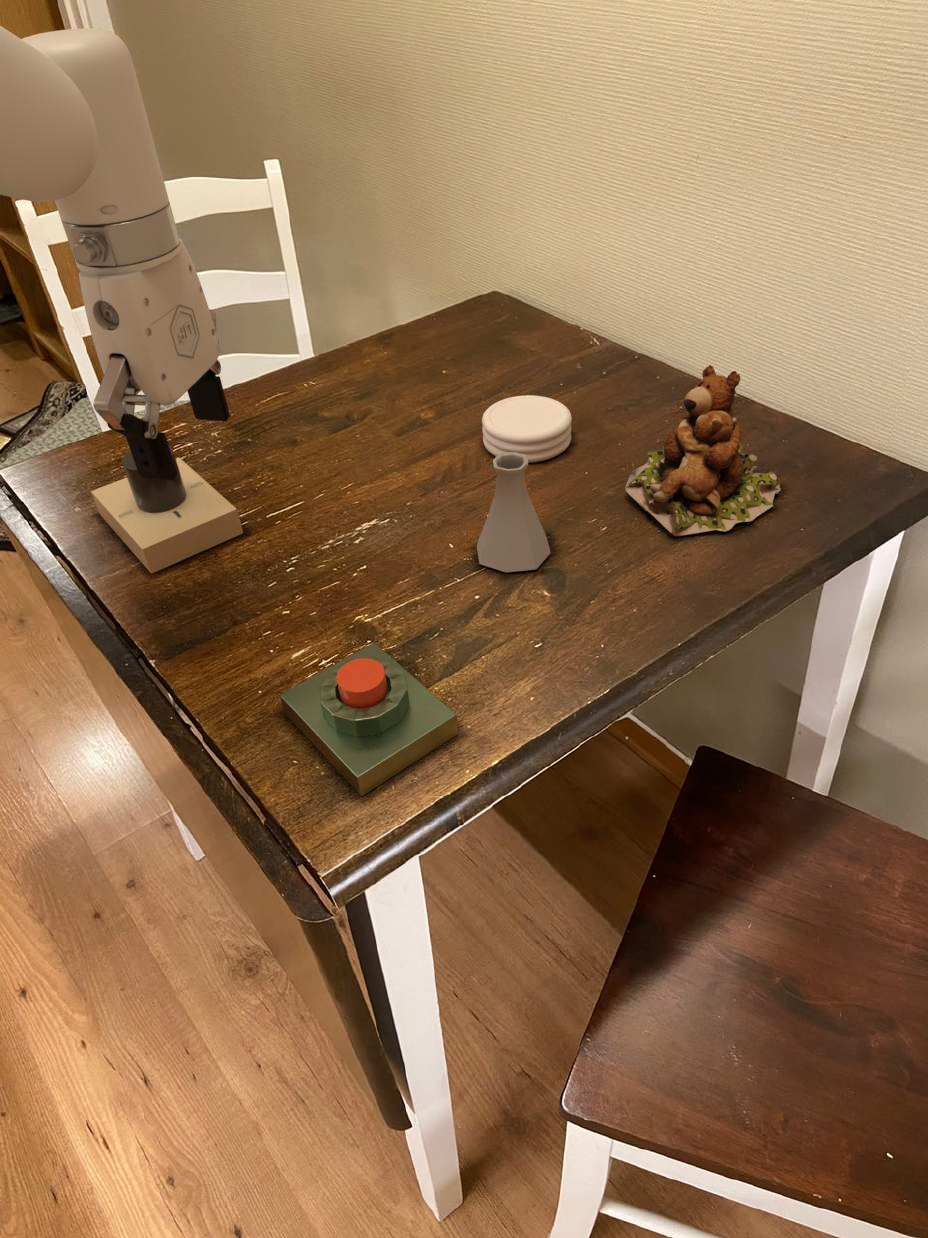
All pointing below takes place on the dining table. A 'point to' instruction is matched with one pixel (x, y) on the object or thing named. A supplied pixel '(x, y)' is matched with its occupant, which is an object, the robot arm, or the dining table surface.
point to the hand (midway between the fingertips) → (187, 446)
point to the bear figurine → (704, 467)
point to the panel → (169, 521)
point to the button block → (370, 722)
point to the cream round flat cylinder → (527, 427)
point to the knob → (154, 488)
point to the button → (362, 683)
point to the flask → (512, 521)
